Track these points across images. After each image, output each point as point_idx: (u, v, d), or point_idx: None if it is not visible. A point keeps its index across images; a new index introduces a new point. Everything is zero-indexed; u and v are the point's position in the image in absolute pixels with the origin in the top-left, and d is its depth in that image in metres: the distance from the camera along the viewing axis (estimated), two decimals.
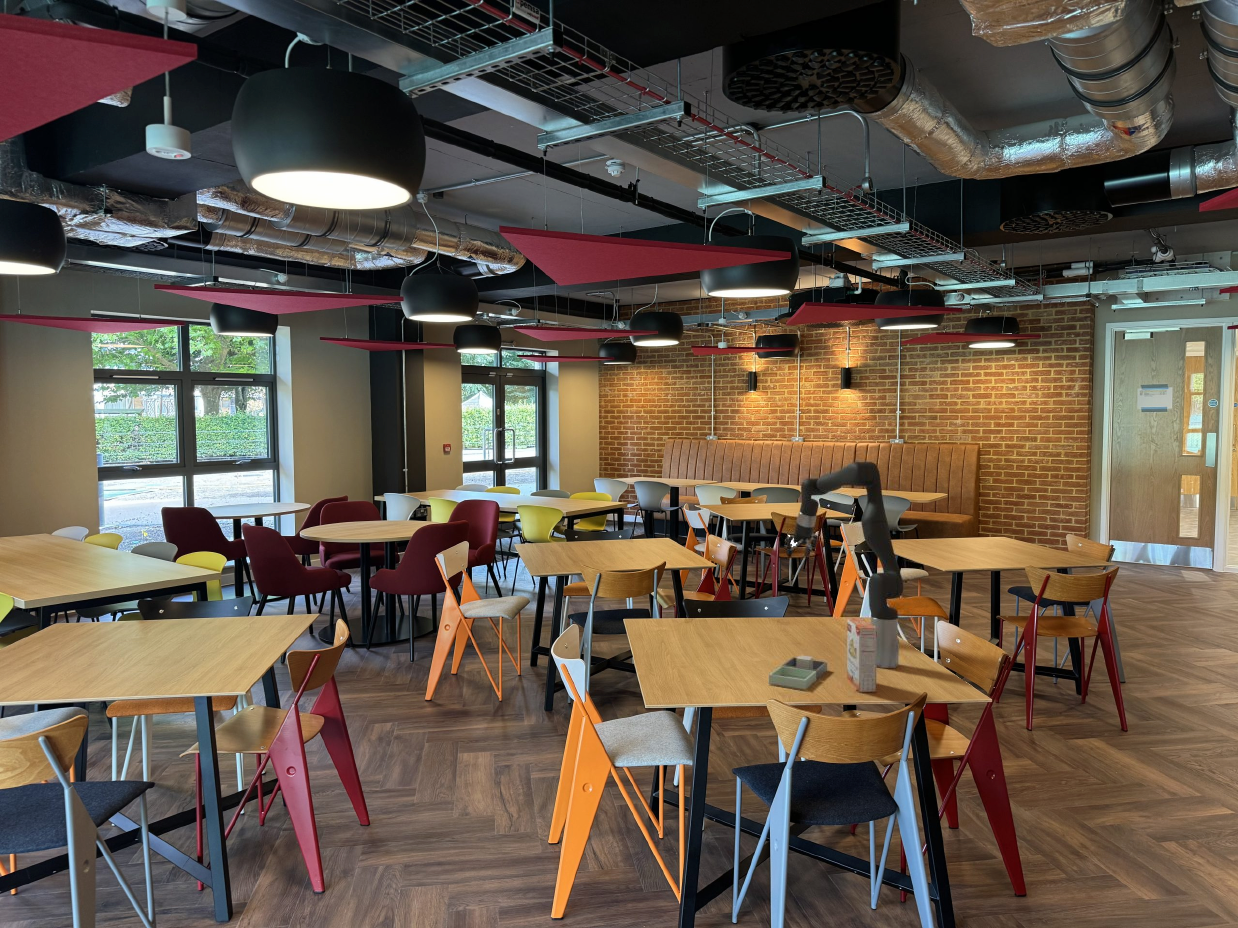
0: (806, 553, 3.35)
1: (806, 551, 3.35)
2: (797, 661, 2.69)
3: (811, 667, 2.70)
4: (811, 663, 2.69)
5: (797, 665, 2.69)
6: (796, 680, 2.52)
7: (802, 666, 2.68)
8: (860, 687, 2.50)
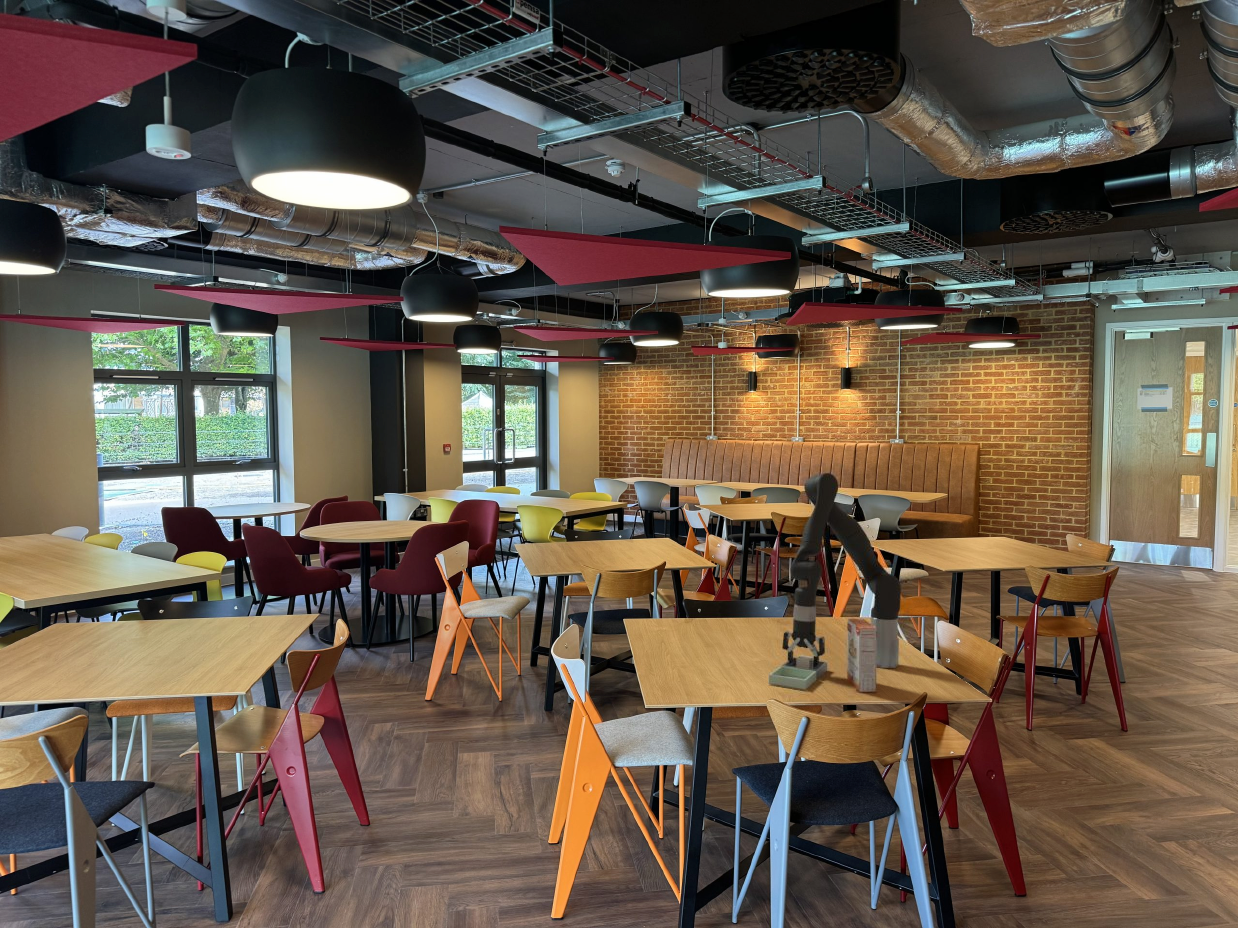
0: (792, 658, 2.73)
1: (792, 656, 2.73)
2: (797, 661, 2.69)
3: (811, 667, 2.70)
4: (811, 663, 2.69)
5: (797, 665, 2.69)
6: (796, 680, 2.52)
7: (802, 666, 2.68)
8: (860, 687, 2.50)
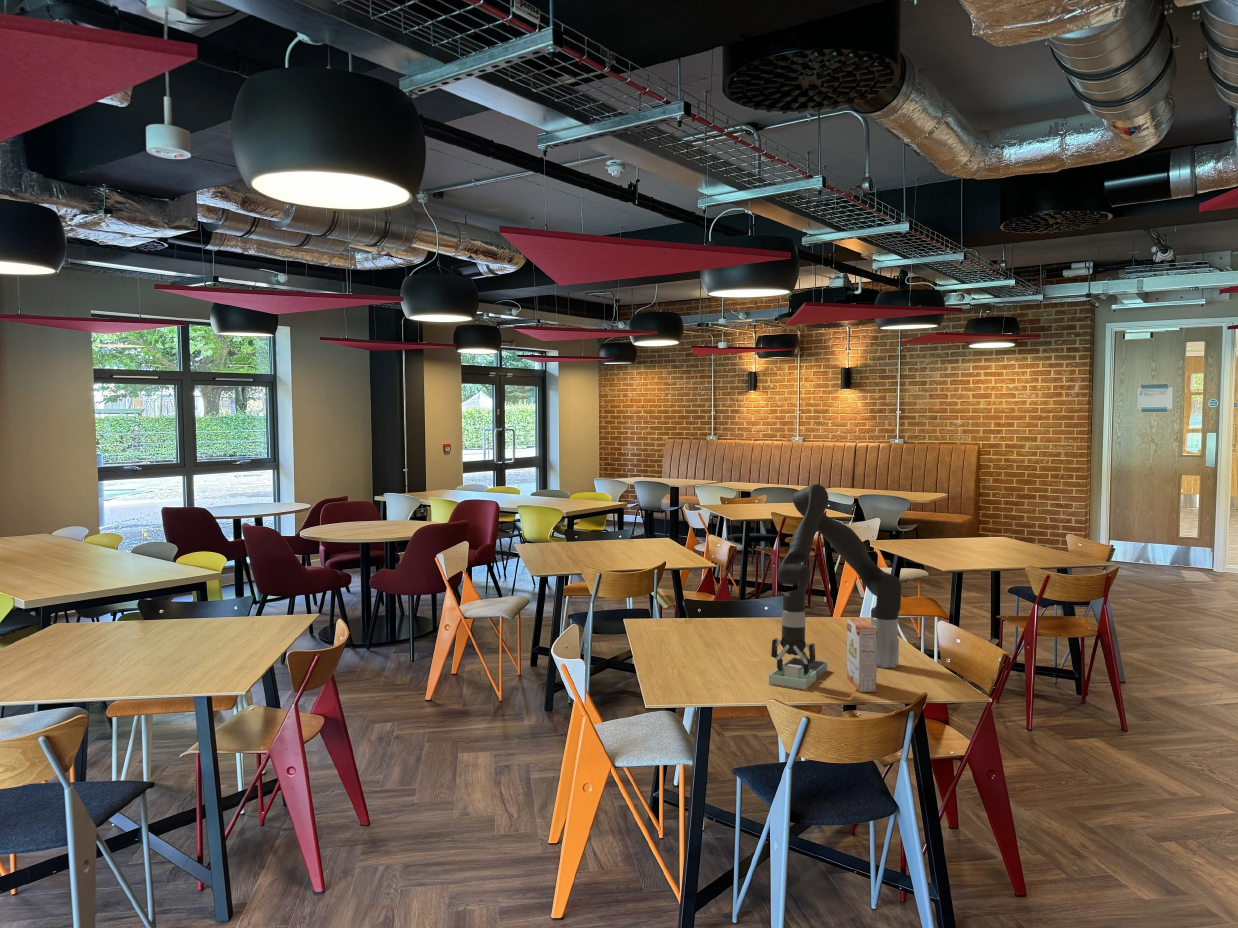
0: (781, 666, 2.61)
1: (781, 664, 2.61)
2: (785, 670, 2.58)
3: (800, 676, 2.58)
4: (800, 672, 2.58)
5: (785, 674, 2.58)
6: (796, 680, 2.52)
7: (790, 675, 2.57)
8: (860, 687, 2.50)
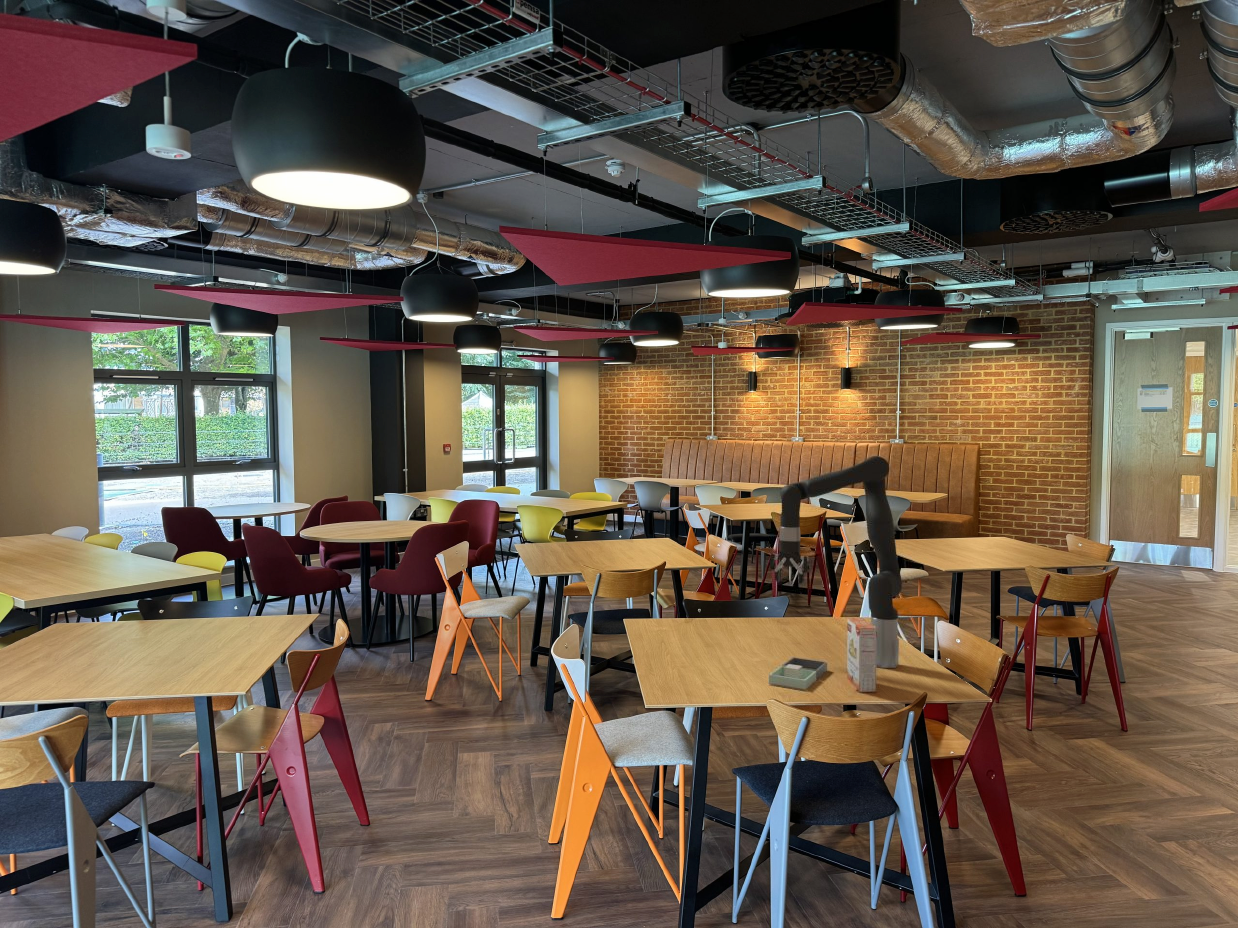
0: (779, 577, 2.91)
1: (779, 575, 2.91)
2: (785, 670, 2.58)
3: (800, 676, 2.58)
4: (800, 672, 2.58)
5: (785, 674, 2.58)
6: (796, 680, 2.52)
7: (790, 675, 2.57)
8: (860, 687, 2.50)
